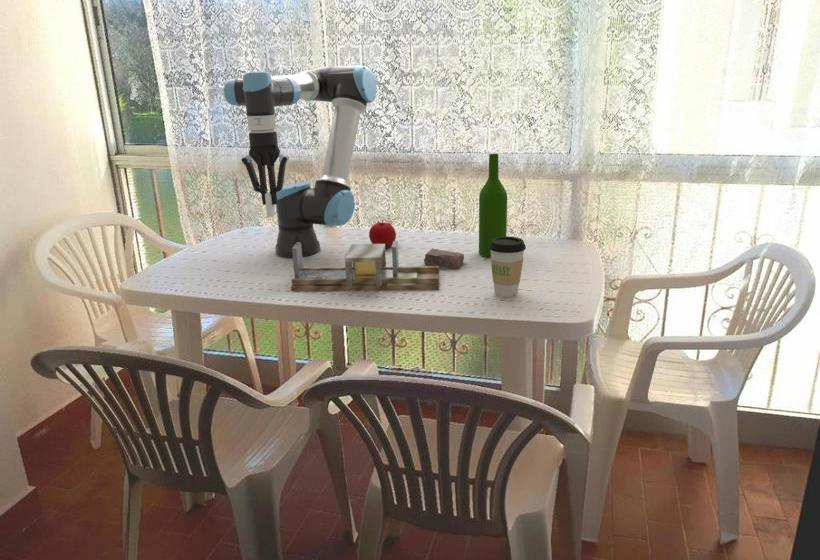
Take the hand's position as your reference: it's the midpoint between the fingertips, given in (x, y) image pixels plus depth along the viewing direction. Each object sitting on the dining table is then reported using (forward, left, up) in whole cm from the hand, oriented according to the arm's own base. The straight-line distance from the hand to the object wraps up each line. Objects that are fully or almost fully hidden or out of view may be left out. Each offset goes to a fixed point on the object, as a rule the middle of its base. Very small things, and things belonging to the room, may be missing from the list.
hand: (271, 215), depth 179 cm
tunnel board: (+23, +13, -20) cm, 33 cm away
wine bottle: (+43, +55, -21) cm, 73 cm away
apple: (+6, +45, -21) cm, 50 cm away
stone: (+34, +39, -21) cm, 56 cm away
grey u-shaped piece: (+18, +10, -19) cm, 28 cm away
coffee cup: (+62, +24, -21) cm, 70 cm away
